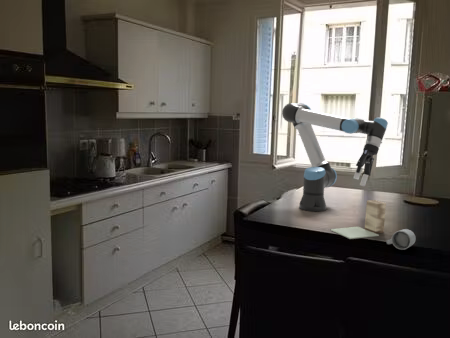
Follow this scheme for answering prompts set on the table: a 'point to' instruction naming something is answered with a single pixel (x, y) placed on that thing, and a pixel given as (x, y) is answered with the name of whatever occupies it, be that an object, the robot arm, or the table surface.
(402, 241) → the ceramic mug
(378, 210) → the birch block
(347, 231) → the sage mat
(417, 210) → the table surface
